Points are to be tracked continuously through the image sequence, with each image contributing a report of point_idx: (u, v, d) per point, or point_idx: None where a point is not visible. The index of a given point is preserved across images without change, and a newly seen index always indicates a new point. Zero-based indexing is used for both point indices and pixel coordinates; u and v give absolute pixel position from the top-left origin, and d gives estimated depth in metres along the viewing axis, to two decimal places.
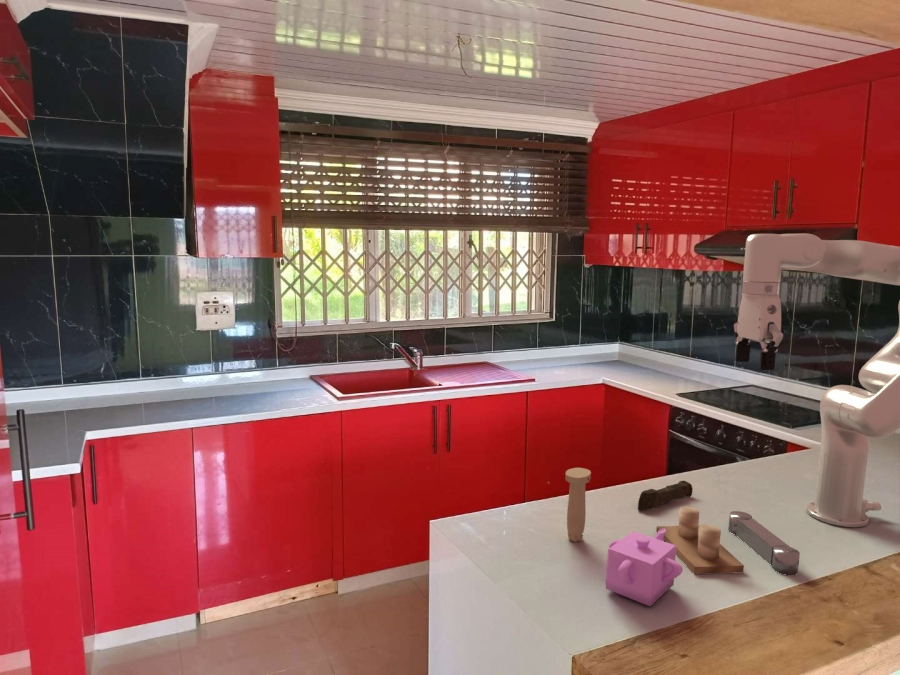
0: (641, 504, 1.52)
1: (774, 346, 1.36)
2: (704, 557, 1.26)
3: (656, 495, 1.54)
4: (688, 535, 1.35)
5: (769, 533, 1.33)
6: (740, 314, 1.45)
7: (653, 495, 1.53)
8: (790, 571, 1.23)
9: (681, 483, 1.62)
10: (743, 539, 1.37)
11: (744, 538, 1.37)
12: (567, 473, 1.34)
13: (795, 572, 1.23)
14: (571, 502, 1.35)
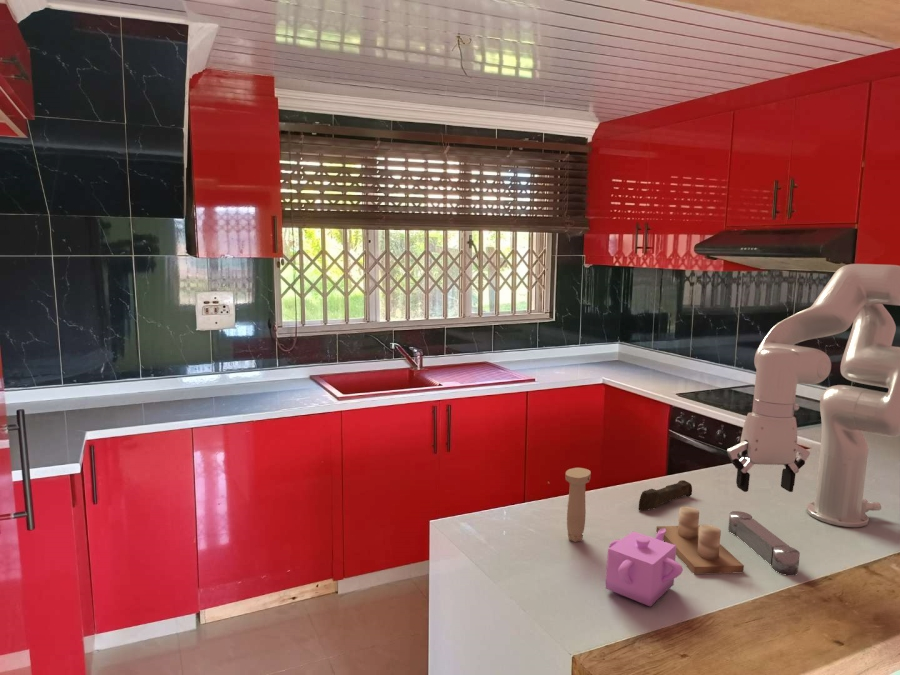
0: (641, 504, 1.52)
1: None
2: (704, 557, 1.26)
3: (656, 495, 1.54)
4: (688, 535, 1.35)
5: (769, 533, 1.33)
6: (760, 439, 1.28)
7: (653, 495, 1.53)
8: (790, 571, 1.23)
9: (681, 483, 1.62)
10: (743, 539, 1.37)
11: (744, 538, 1.37)
12: (567, 473, 1.34)
13: (795, 572, 1.23)
14: (571, 502, 1.35)
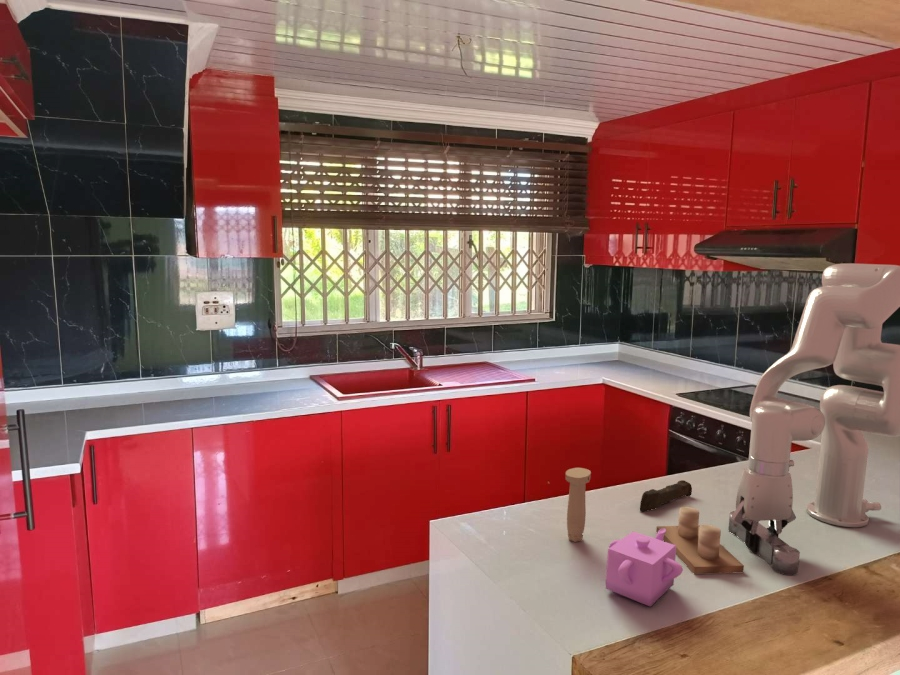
0: (643, 505, 1.52)
1: None
2: (704, 557, 1.26)
3: (657, 495, 1.53)
4: (688, 535, 1.35)
5: (769, 533, 1.33)
6: (756, 497, 1.29)
7: (654, 495, 1.53)
8: (790, 570, 1.23)
9: (680, 483, 1.62)
10: (743, 539, 1.37)
11: (744, 538, 1.37)
12: (567, 473, 1.34)
13: (795, 571, 1.23)
14: (571, 502, 1.35)
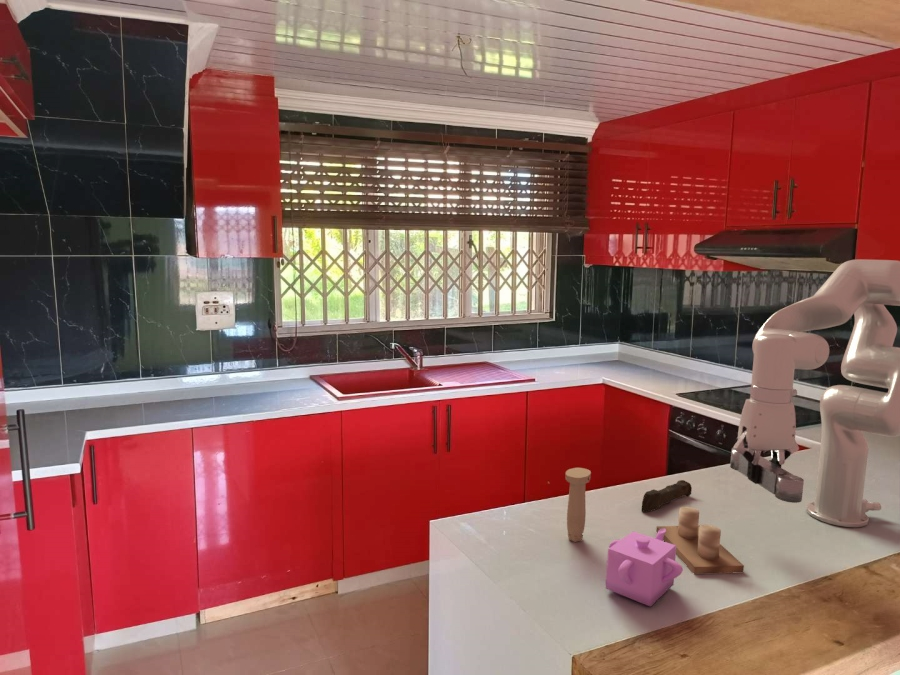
0: (644, 506, 1.51)
1: None
2: (704, 557, 1.26)
3: (659, 496, 1.53)
4: (688, 535, 1.35)
5: (772, 464, 1.30)
6: (759, 426, 1.27)
7: (656, 496, 1.53)
8: (794, 498, 1.21)
9: (680, 483, 1.62)
10: (745, 473, 1.35)
11: (746, 472, 1.34)
12: (567, 473, 1.34)
13: (799, 499, 1.21)
14: (571, 502, 1.35)
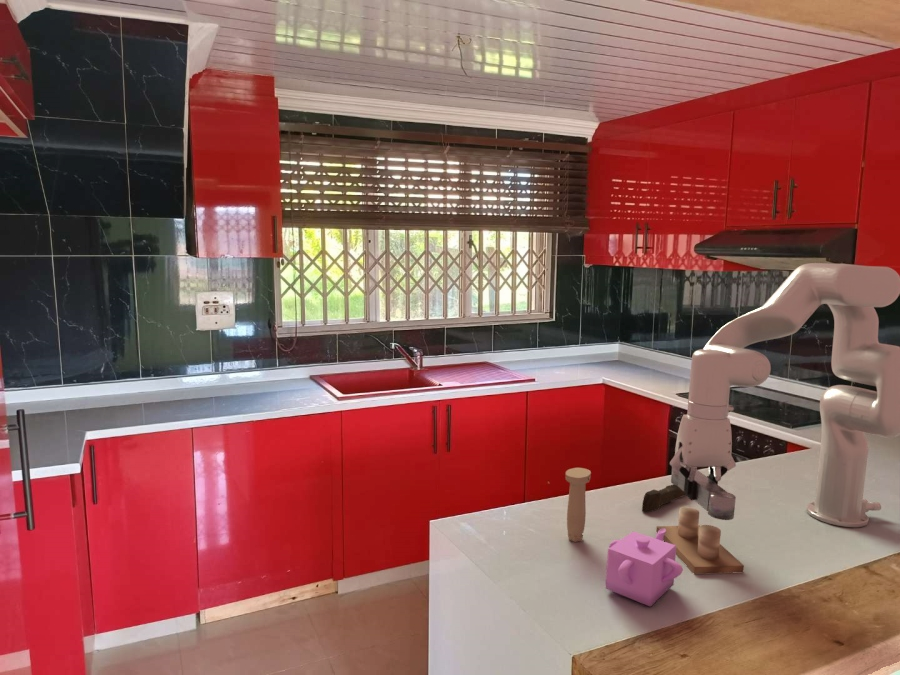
0: (645, 506, 1.51)
1: None
2: (704, 557, 1.26)
3: (659, 496, 1.53)
4: (688, 535, 1.35)
5: (708, 480, 1.29)
6: (694, 442, 1.26)
7: (656, 496, 1.53)
8: (725, 515, 1.20)
9: None
10: None
11: None
12: (567, 473, 1.34)
13: (730, 516, 1.20)
14: (571, 502, 1.35)
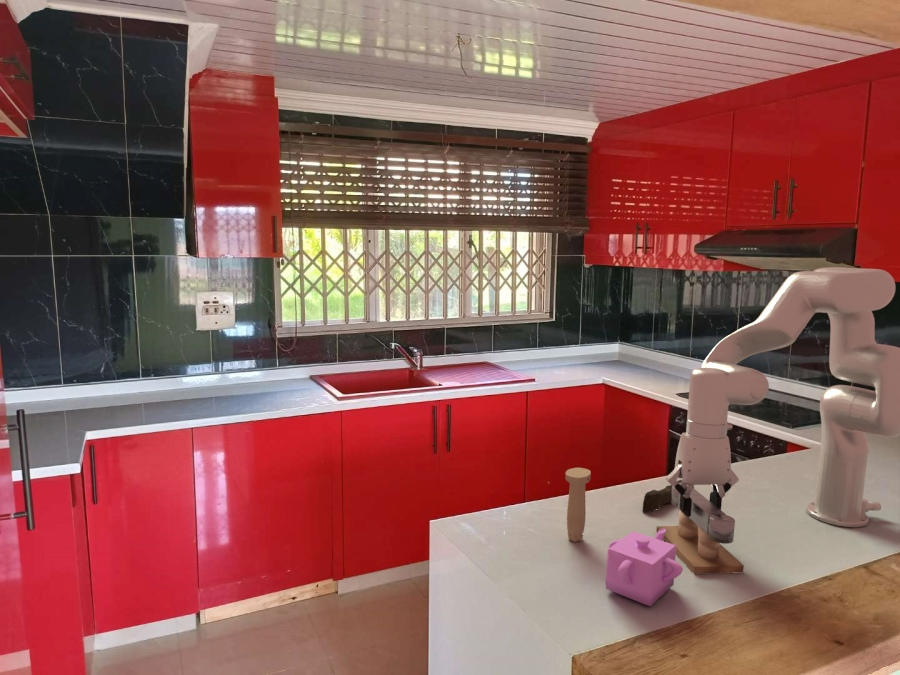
0: (645, 506, 1.51)
1: None
2: (704, 557, 1.26)
3: (659, 496, 1.53)
4: (688, 535, 1.35)
5: (708, 502, 1.30)
6: (693, 460, 1.27)
7: (656, 496, 1.53)
8: (725, 539, 1.21)
9: (680, 482, 1.62)
10: None
11: None
12: (567, 473, 1.35)
13: (730, 540, 1.21)
14: (571, 502, 1.35)
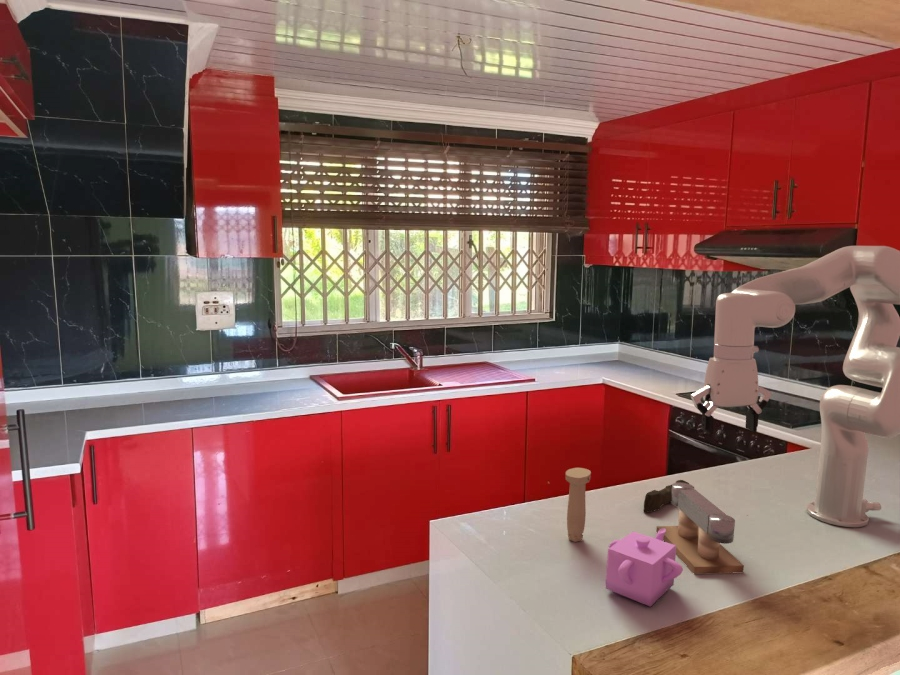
0: (646, 506, 1.51)
1: None
2: (704, 557, 1.26)
3: (660, 496, 1.53)
4: (688, 535, 1.35)
5: (708, 502, 1.30)
6: (722, 383, 1.31)
7: (657, 496, 1.53)
8: (725, 539, 1.21)
9: (679, 482, 1.62)
10: (684, 509, 1.35)
11: (684, 509, 1.34)
12: (567, 473, 1.34)
13: (730, 540, 1.21)
14: (571, 502, 1.35)
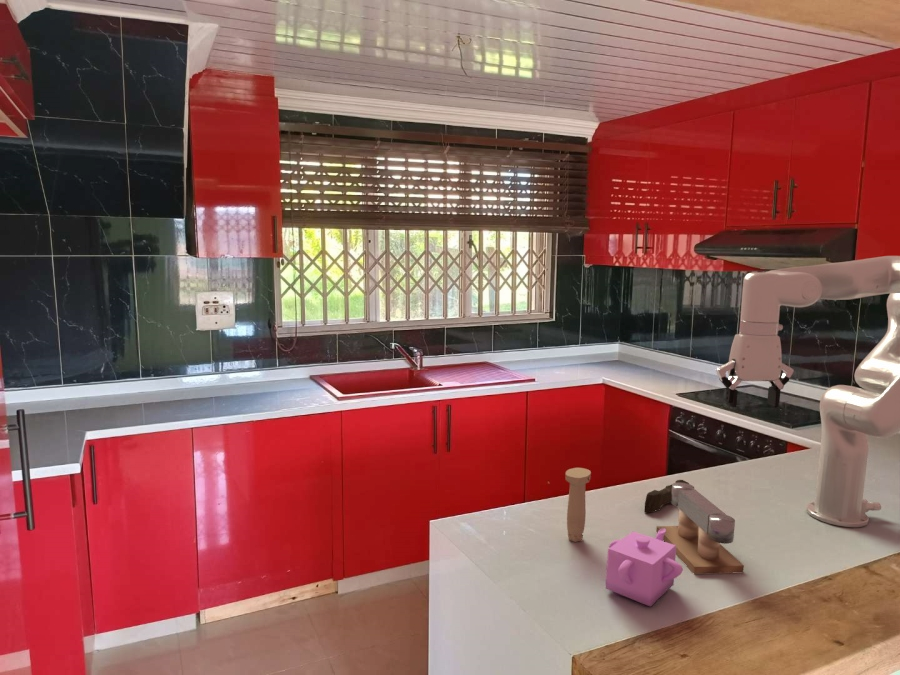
0: (647, 506, 1.51)
1: None
2: (704, 557, 1.26)
3: (660, 496, 1.53)
4: (688, 535, 1.35)
5: (708, 502, 1.30)
6: (747, 357, 1.37)
7: (658, 496, 1.52)
8: (725, 539, 1.21)
9: (679, 482, 1.62)
10: (684, 509, 1.35)
11: (684, 509, 1.34)
12: (567, 473, 1.34)
13: (730, 540, 1.21)
14: (571, 502, 1.35)
